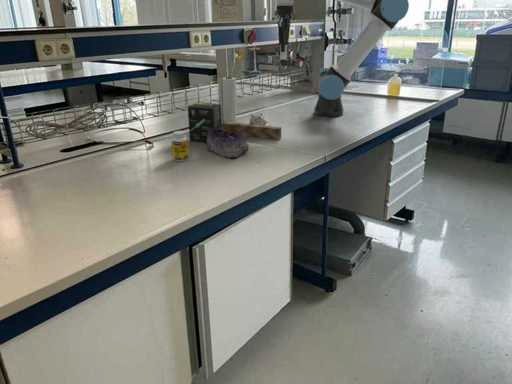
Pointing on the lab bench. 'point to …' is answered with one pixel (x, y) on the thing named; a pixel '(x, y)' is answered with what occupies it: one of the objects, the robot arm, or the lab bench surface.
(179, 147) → the supplement bottle
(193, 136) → the tampon box
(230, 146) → the geode
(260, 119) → the game die
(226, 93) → the paper towel roll
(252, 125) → the board
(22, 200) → the lab bench surface
